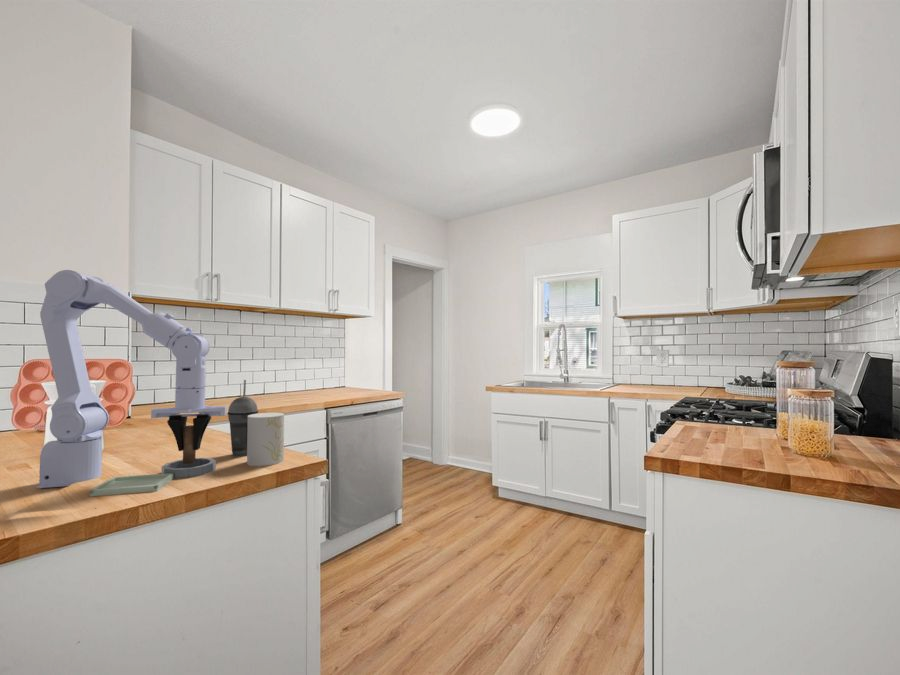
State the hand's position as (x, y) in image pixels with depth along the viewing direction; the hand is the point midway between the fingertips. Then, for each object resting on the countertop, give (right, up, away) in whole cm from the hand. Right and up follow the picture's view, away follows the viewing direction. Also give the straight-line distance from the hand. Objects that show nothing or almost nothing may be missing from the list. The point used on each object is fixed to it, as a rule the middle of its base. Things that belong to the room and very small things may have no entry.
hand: (189, 449), depth 97 cm
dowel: (0, -3, 0) cm, 3 cm away
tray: (-4, -5, -11) cm, 13 cm away
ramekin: (0, -6, 0) cm, 6 cm away
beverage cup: (+4, -6, +16) cm, 18 cm away
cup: (+13, -6, +8) cm, 17 cm away
